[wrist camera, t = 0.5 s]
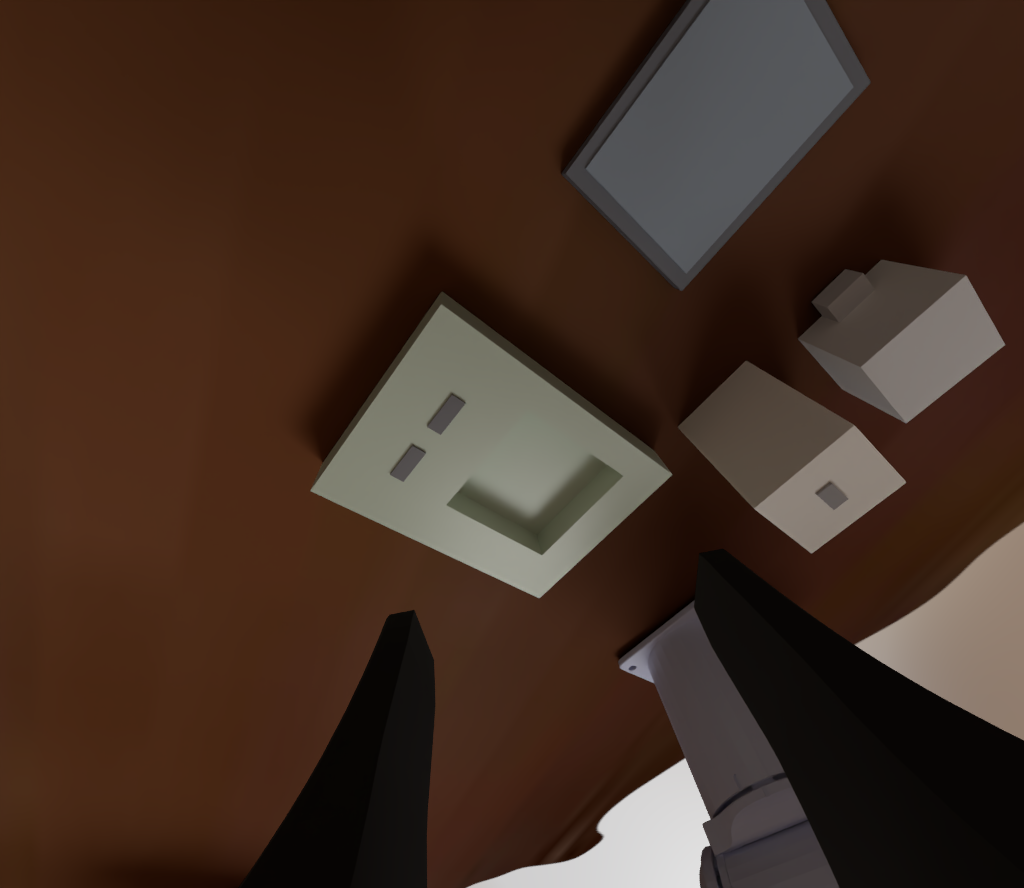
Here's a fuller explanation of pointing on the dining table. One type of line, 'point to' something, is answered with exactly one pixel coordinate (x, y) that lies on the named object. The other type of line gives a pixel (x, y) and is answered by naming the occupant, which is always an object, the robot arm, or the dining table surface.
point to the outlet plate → (487, 456)
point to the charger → (790, 456)
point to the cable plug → (900, 335)
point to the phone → (715, 125)
